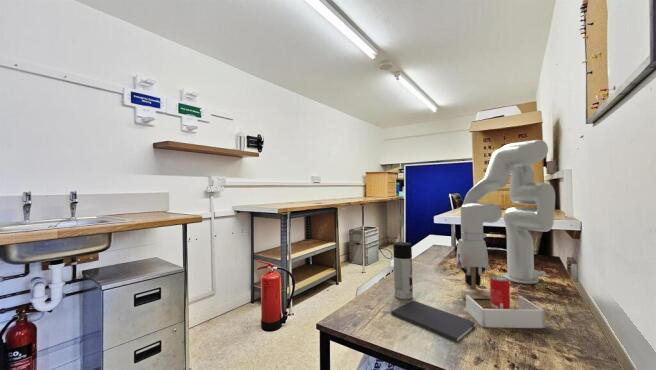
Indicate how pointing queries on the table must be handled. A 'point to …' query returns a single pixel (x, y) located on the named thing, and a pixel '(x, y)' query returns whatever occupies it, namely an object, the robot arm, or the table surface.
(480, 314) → the box
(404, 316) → the notebook
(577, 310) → the table surface
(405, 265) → the spray can
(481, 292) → the wooden block structure
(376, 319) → the table surface
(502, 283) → the beverage can
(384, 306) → the table surface
